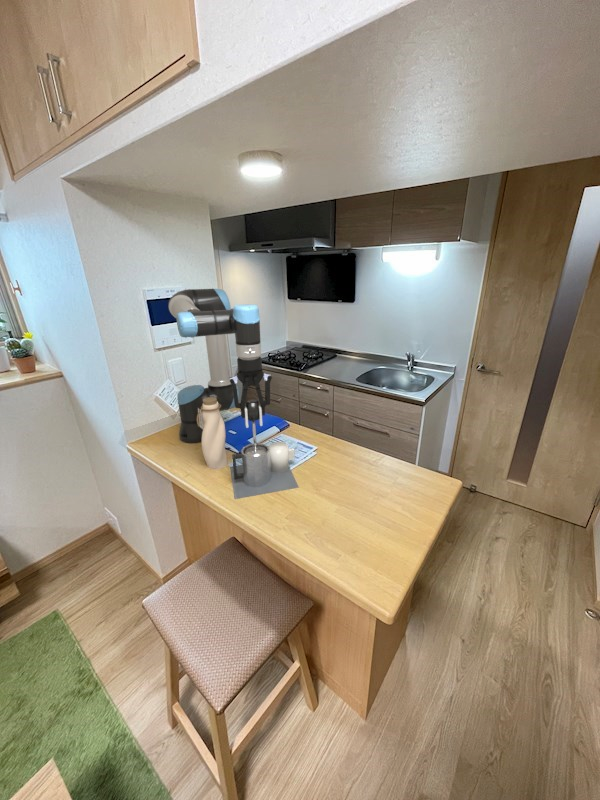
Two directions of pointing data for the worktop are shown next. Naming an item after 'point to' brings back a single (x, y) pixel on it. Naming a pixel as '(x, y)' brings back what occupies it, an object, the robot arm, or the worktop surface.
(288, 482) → the slate board
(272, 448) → the cream mug
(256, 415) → the plunger
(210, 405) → the water bottle
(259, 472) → the press carafe
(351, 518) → the worktop surface
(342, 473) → the worktop surface
